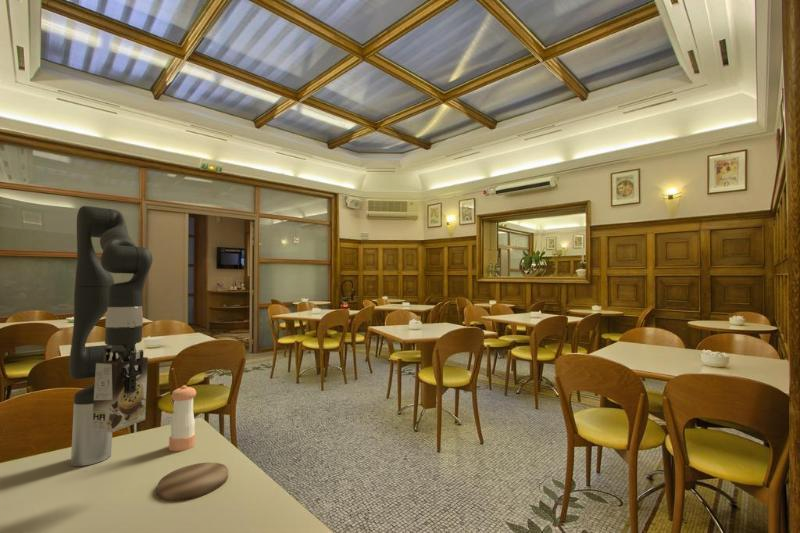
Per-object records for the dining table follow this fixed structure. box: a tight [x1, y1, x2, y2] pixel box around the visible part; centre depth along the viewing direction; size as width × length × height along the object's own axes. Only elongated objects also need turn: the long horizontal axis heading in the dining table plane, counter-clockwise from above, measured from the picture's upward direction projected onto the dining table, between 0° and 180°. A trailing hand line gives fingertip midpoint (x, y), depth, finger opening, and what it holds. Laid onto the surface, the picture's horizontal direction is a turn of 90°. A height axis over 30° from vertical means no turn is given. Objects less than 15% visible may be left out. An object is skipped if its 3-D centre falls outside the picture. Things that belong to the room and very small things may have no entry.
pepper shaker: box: [168, 384, 197, 452], centre depth 118 cm, size 7×7×19 cm
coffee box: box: [92, 356, 149, 433], centre depth 92 cm, size 9×6×16 cm
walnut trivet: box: [156, 462, 229, 501], centre depth 95 cm, size 16×16×2 cm
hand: (121, 390), depth 92 cm, fingers closed on coffee box, 7 cm apart
